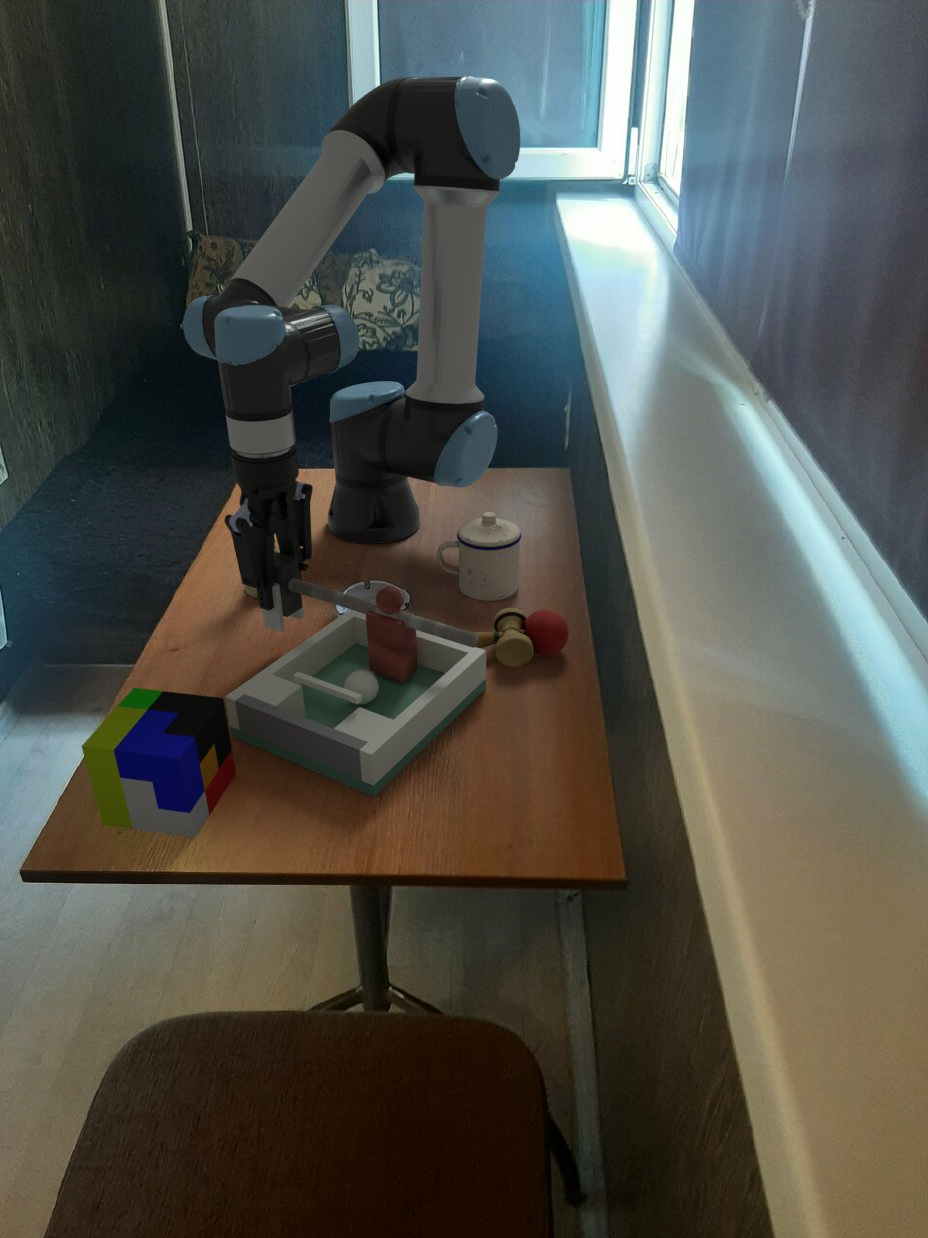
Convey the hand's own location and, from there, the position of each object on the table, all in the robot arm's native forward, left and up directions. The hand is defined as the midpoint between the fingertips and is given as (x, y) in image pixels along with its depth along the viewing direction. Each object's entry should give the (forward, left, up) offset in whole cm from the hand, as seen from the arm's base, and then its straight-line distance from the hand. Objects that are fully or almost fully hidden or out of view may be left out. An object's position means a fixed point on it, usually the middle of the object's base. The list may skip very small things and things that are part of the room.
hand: (284, 621), depth 122 cm
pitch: (+6, +17, -4) cm, 19 cm away
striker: (0, +13, -2) cm, 13 cm away
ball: (+6, +17, -1) cm, 18 cm away
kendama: (-13, +24, -4) cm, 28 cm away
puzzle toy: (+29, +9, -4) cm, 31 cm away
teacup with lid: (-27, +13, -4) cm, 30 cm away
